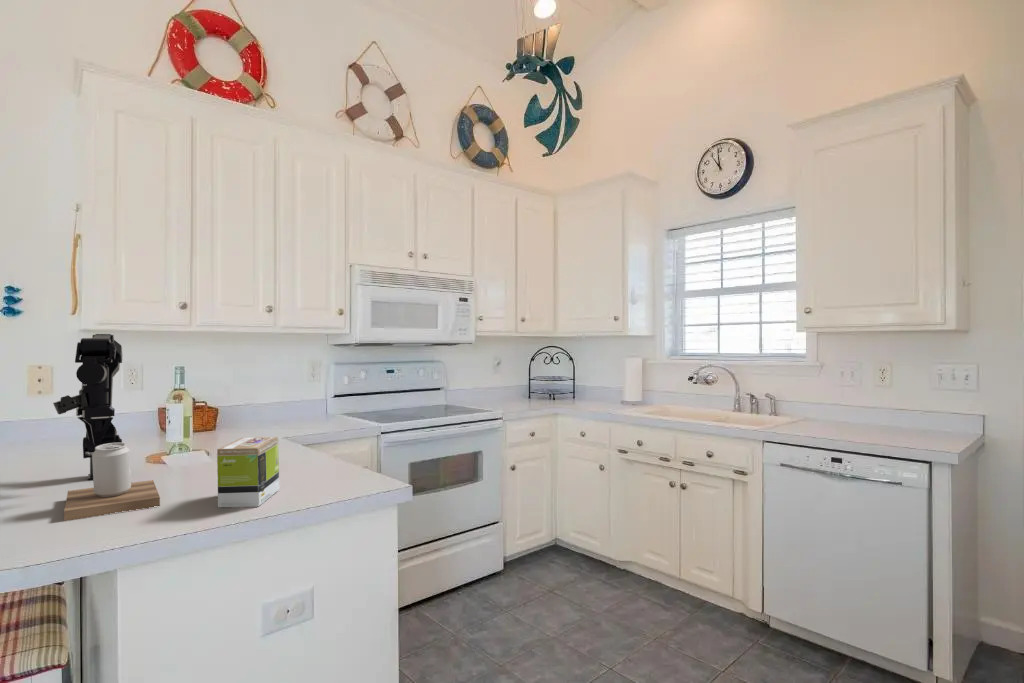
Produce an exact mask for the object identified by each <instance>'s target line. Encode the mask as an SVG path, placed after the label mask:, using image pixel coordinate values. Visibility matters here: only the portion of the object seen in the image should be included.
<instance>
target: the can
mask: <svg viewBox="0 0 1024 683" xmlns="http://www.w3.org/2000/svg"><path fill="white" fill-rule="evenodd" d="M92 464H93V479H92V480H93V488H94V493H95V494H97V495H99V496H101V497H111V496H117V495H120V494H123V493H125V492H127V491H128V489H129V488H131V483H132V472H131V450H130V448H129V447H127V443H125V442H122V443H119V442H117V443H107V444H103V445H99V446H97V447H95V451H94V453H93V454H92Z"/></svg>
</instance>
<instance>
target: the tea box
mask: <svg viewBox="0 0 1024 683" xmlns="http://www.w3.org/2000/svg"><path fill="white" fill-rule="evenodd" d="M216 451H217V453H216V458H217V459H216V463H217V464H216V465H217V471H216V472H217V507H218V508H219V507H232V508H257V507H260V505H262V504H263V503H265V502H266V501H267V500H268V499H270V498H271V497H272V496H273V495H274V494H276V493H277V492H278V491H280V460H279V458H280V455H279V454H280V453H279V451H280V450H279V436H257V437H256V436H255V437H254V436H253V437H241V438H238V439H236V440H234V441H232V442H230V443H227V444H225V445H224V446H222V447H219V448H217V450H216Z"/></svg>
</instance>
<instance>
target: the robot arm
mask: <svg viewBox="0 0 1024 683" xmlns="http://www.w3.org/2000/svg"><path fill="white" fill-rule="evenodd" d="M74 358H75V360H74V363H75V364H76V363H77V364H78V363H79V364H81V363H82V364H81V365H80V366H79V367H78V368H77V370H76V373H75V374H76V378H77V380H78V381H79V382H80V383H81V388H80V389H79V391H78V394H77V395H73V396H71V395H69V394H68V395H65V396H62V397H60V400H58V401H55V402H53V403H52V404H53V406H54V409H55V411H56V413H57V414H58V415H63V414H66V413H67V412H69V411H72V410H75V411H76V412H75V414H76V418H77V419H79V421H81V422H82V423H84V426H85V430H86V433H85V437H83V438H82V453H83V454H82V457H83V458H82V459H87V458H88V459H89V474H88V475H87V480H93V464H92V454H93V453H94V451H95V447H97V446H99V445H103V444H107V443H117V442H119V443H123V439H122V438H121V436H120V435H119V434H118V431H117V428H116V427H115V425H114V424H113V423H112V421H113V419H114V417H115V408H114V407H113V405H112V404H113V386H114V385H113V382H114V377H115V375H116V374H117V373H118V372H119V371H120V367H121V365H120V364H122V363H123V346H122V345H121V344H120V343H119V342H118V341H117V340H116V339H115V336H114V334H111V333H95V334H92V337H83V338H81V339H80V341H79V342H77V343H76V352H75V357H74Z"/></svg>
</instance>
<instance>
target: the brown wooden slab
mask: <svg viewBox="0 0 1024 683" xmlns="http://www.w3.org/2000/svg"><path fill="white" fill-rule="evenodd" d="M160 499H161V496H160V494H159V492H158V489H157V486H156V484H155V481H154V479H152V480H151V479H150V480H143V481H137V482H131V488H129V489H128V491H127V492H125V493H123V494H120V495H117V496H111V497H101V496H99V495H97V494H95V493H94V487H88V488H81V489H71V490H67V495H66V500H65V506H64V511H63V521H64V522H66V521H67V520H68V521H73V520H74V519H75V520H80V519H81V518H82V519H88V518H93V517H92V516H95V517H99V515H101V516H105V515H104V514H108V515H111V514H110V513H115V512H121V513H123V512H122V511H128V512H130V511H129V510H134V511H137V510H136V509H141V510H143V509H142V508H147V509H150V508H149V507H154V506H160V507H161V500H160ZM154 508H155V507H154ZM115 514H116V513H115ZM87 517H88V518H87ZM68 521H67V522H68Z"/></svg>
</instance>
